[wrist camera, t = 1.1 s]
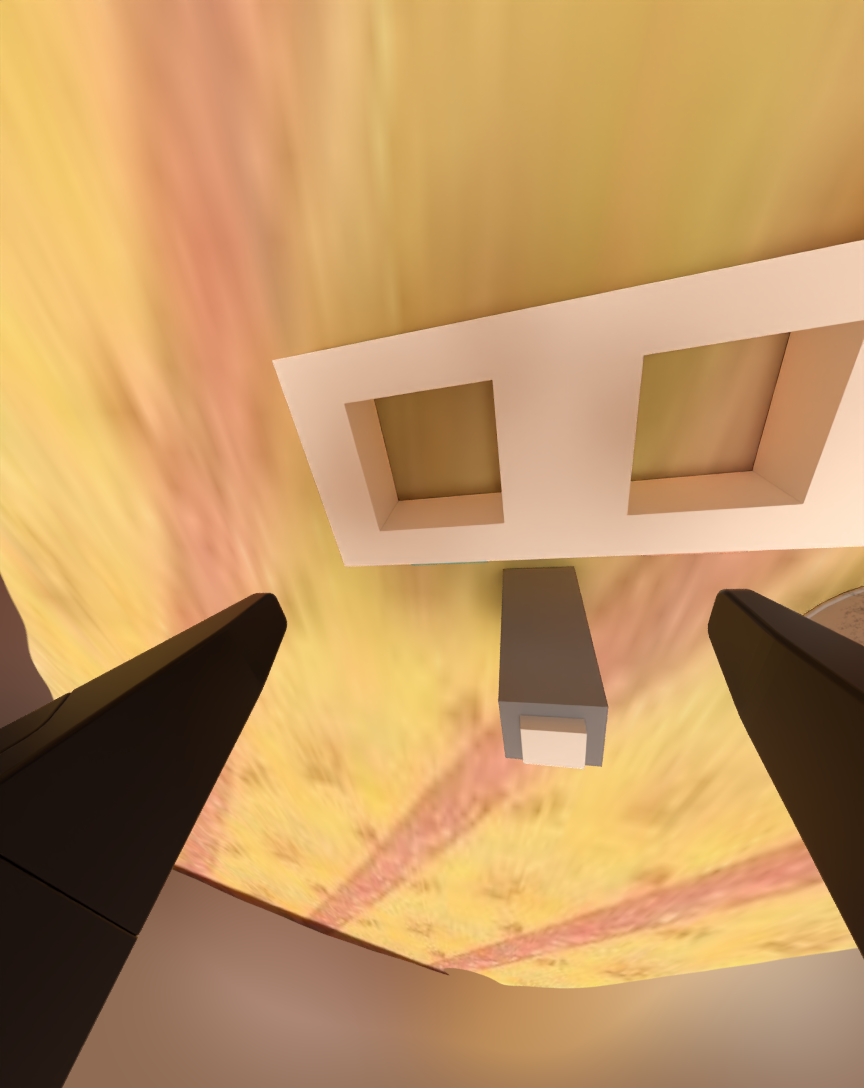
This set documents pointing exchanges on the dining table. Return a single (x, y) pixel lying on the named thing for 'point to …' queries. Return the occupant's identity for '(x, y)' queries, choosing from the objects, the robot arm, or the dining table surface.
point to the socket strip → (603, 423)
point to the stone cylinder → (842, 614)
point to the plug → (549, 672)
